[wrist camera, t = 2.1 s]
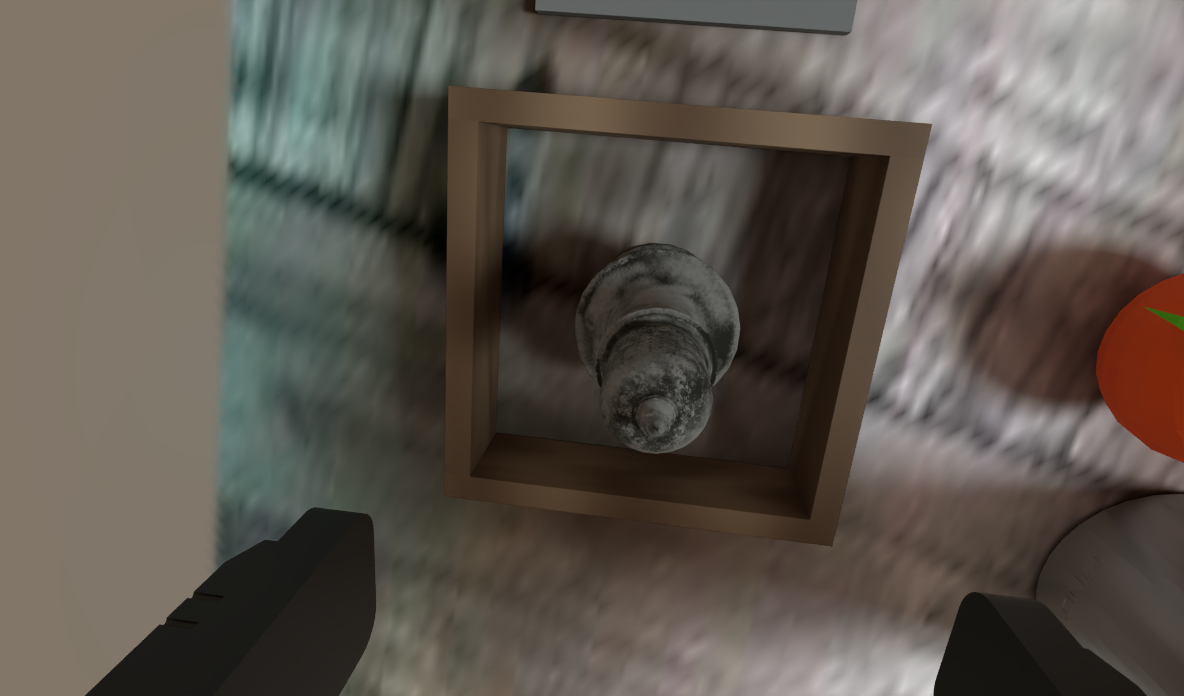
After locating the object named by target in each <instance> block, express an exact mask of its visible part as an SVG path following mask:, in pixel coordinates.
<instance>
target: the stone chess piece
mask: <svg viewBox="0 0 1184 696" xmlns="http://www.w3.org/2000/svg"><path fill="white" fill-rule="evenodd" d="M739 334H740V322H739V314H738V307H737V305H736V303H735V300H734V298H733V296H732V293H731V291H730V289H729V287H728V286H727V284H726V283H725V282H724V281H723V279H722V278H721V277H720V276H719V274H718V273H717V272H716V271H715V270H714V269H713V268H711V267H710V266H708V265H707V264H706V263H704V262H703V261H701V260H700V259H699V258H697V257H696V256H694V255H693V254H692V253H690V252H689V251H687V250H684V249H681V248H679V247H676V246H673V245H667V244H655V243H654V244H648V245H643V246H637V247H635V248H633V249H631V250H629V251H626V252H624V253H622V254H621V255H620V256H618V257H617V258H616V259H615V260H613V261H611V262H610V263H609V264H608V265H606V266H605V267H604V268H603V269H602V270H600V271H599V272H598V273H597V274H596V275H595V276H594V277H593V279H592V280H591V282H590V283H589V284H588V286H587V287H586V289H585V290H584V292H583V293H582V296H581V299H580V302H579V305H578V308H577V310H576V315H575V330H574V335H575V339H576V344H577V349H578V354H579V356H580V358H581V360H582V362H583V364H584V366H585V368H586V370H587V372H588V373H589V374H590V375H591V376H592V377H593V378H594V379H595V381H596V382H597V383H598V384H599V385H600V387H601V391H600V407H601V412H602V416H603V419H604V421H605V423H606V425H607V427H608V429H609V431H610V432H611V433H612V434H613V435H614V436H615V437H616V438H617V439H618V440H619V441H620V442H622V443H623V444H625V445H626V446H628V447H629V448H632V449H635V450H638V451H640V452H645V453H654V454H659V453H666V452H672V451H675V450H677V449H680V448H682V447H685V446H686V445H687V444H689V443H690V442H692V441H693V440H695V439H696V438H697V436H698V435H699V434H700V433H701V432H702V431H703V429H704V428H705V426H706V424H707V421H708V419H709V417H710V414H711V410H712V404H713V395H712V387H713V386H714V385H716V383H717V382H718V381H719V380H720V378H721V377H722V376H723V375H724V374H725V372H726V371H727V370H728V369H729V367H730V364H731V362H732V360H733V358H734V355H735V353H736V351H737V347H738V341H739Z"/></svg>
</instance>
